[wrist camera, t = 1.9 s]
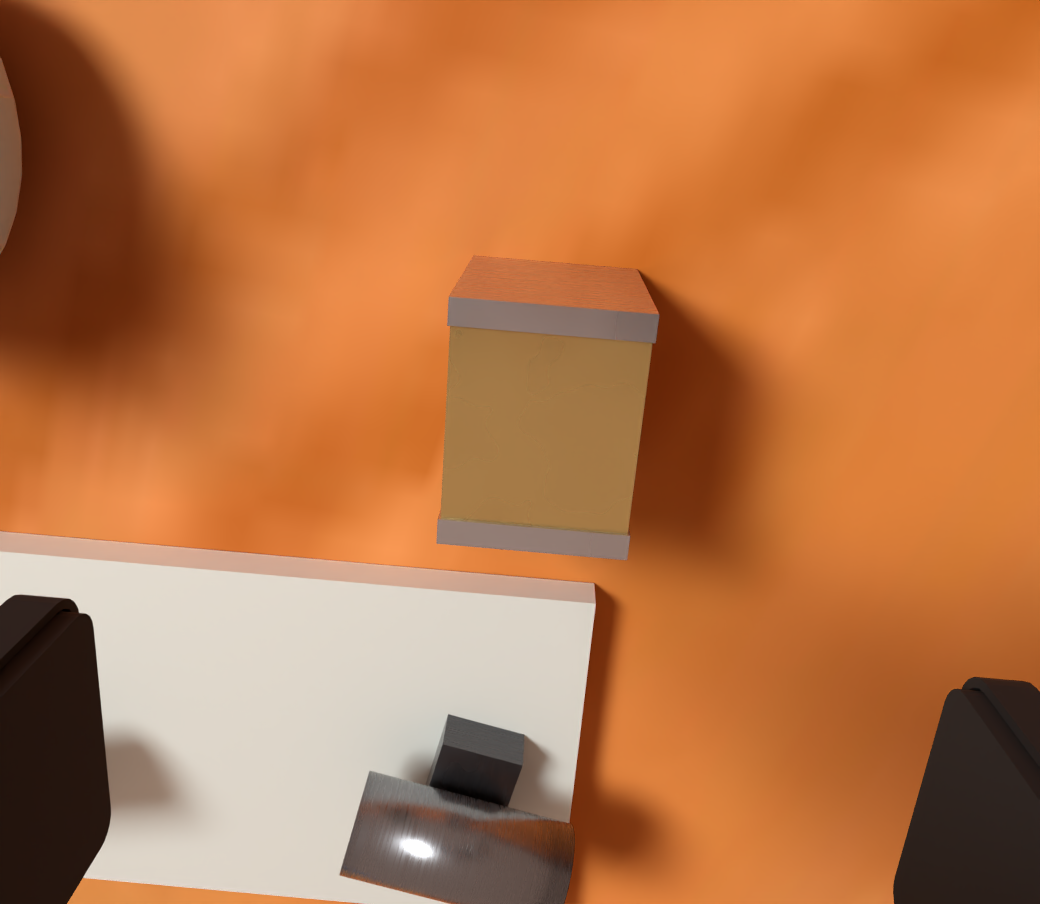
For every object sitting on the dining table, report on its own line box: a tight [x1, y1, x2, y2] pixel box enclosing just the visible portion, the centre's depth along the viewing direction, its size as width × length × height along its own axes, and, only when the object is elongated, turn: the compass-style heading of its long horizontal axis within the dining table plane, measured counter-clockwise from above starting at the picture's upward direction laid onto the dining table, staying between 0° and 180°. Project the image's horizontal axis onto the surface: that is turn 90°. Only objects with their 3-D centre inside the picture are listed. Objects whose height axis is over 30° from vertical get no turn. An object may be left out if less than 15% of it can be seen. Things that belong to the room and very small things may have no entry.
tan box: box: [437, 256, 659, 560], centre depth 22 cm, size 6×4×6 cm
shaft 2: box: [339, 714, 575, 904], centre depth 26 cm, size 6×4×4 cm
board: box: [0, 531, 596, 904], centre depth 29 cm, size 21×12×1 cm, turn 85°
